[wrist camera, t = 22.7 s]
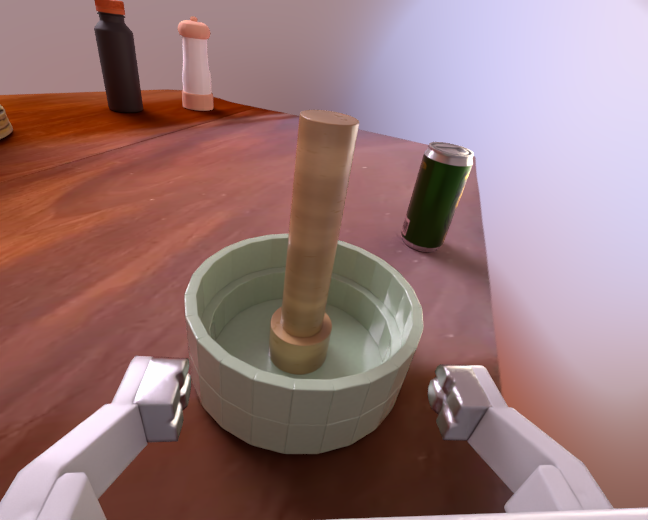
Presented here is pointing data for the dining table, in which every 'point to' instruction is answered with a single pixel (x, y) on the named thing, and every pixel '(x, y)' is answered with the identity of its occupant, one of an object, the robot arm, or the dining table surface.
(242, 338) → the bowl
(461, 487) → the dining table surface
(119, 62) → the bottle
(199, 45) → the pepper shaker
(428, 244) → the beer can
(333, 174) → the wooden pestle
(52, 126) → the dining table surface
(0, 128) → the tankard
